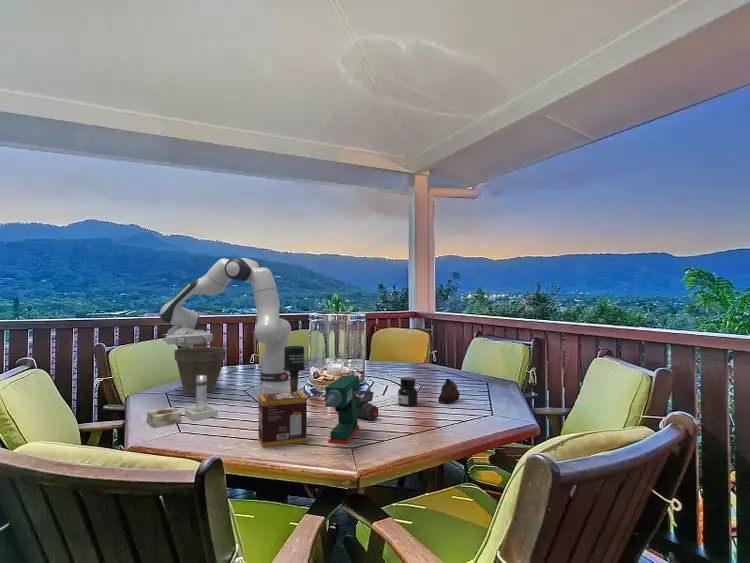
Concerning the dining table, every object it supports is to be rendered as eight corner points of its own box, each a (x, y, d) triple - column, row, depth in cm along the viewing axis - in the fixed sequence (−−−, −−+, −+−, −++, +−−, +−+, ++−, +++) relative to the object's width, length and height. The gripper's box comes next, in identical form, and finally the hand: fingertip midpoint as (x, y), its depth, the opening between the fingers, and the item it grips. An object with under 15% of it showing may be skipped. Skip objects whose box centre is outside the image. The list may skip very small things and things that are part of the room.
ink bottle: (395, 402, 207) (395, 377, 207) (412, 401, 210) (412, 375, 210) (402, 407, 198) (402, 381, 198) (420, 406, 201) (420, 379, 201)
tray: (208, 411, 192) (208, 405, 192) (217, 415, 184) (217, 409, 184) (184, 415, 185) (184, 409, 185) (193, 420, 177) (193, 414, 178)
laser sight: (346, 408, 197) (347, 386, 198) (383, 418, 182) (383, 394, 182) (330, 412, 190) (330, 389, 191) (366, 423, 175) (366, 398, 175)
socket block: (173, 416, 183) (173, 407, 183) (181, 422, 175) (181, 412, 175) (146, 421, 176) (147, 411, 176) (154, 427, 168) (154, 417, 169)
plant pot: (215, 384, 246) (216, 345, 246) (232, 392, 227) (233, 350, 227) (167, 390, 230) (168, 348, 230) (181, 399, 211) (183, 354, 211)
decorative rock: (452, 398, 215) (452, 376, 215) (462, 401, 211) (462, 378, 211) (436, 402, 207) (436, 379, 207) (446, 405, 203) (446, 381, 203)
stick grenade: (286, 426, 170) (287, 348, 171) (280, 420, 178) (280, 346, 178) (307, 423, 174) (308, 347, 175) (300, 417, 182) (301, 345, 182)
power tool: (336, 459, 138) (337, 395, 138) (315, 457, 139) (315, 393, 139) (360, 428, 169) (360, 375, 169) (342, 426, 170) (343, 375, 171)
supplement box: (257, 438, 157) (258, 394, 157) (300, 433, 163) (300, 390, 163) (261, 447, 147) (262, 401, 148) (306, 442, 153) (307, 397, 154)
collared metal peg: (209, 413, 186) (209, 375, 186) (202, 415, 182) (202, 376, 182) (200, 412, 187) (200, 374, 188) (193, 415, 183) (193, 376, 184)
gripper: (161, 332, 202) (170, 334, 192) (206, 329, 216) (217, 331, 206) (161, 345, 202) (170, 349, 192) (205, 342, 216) (217, 345, 205)
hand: (195, 340), depth 199 cm, fingers open, 8 cm apart
